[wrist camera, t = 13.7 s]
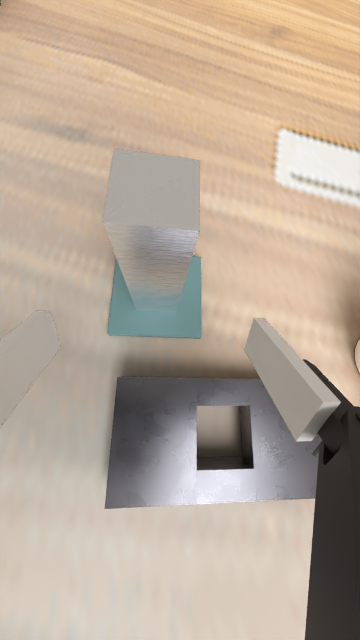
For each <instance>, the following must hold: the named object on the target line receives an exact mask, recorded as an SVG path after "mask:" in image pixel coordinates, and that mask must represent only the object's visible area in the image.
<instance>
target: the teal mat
mask: <svg viewBox="0 0 360 640" xmlns="http://www.w3.org/2000/svg"><path fill="white" fill-rule="evenodd" d="M107 334H109V335H113V336H140V337H167V338H194V339H200V338H201V257H197V256H192V259H191V262H190V266H189V269H188V272H187V276H186V279H185V282H184V286H183V289H182V293H181V296H180V299H179V303H178V306H177V309H176V312H170V311H153V310H136V308H135V306H134V303H133V301H132V298H131V295H130V293H129V290H128V287H127V285H126V282H125V280H124V277H123V274H122V272H121V269H120V266H119V264H118V261H117V259H116V265H115V273H114V282H113V291H112V299H111V308H110V316H109V325H108V333H107Z"/></svg>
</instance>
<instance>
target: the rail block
mask: <svg viewBox="0 0 360 640" xmlns="http://www.w3.org/2000/svg"><path fill="white" fill-rule="evenodd" d="M196 406H240V422H241V441H242V456H240V457H200V458H197V427H196ZM321 442H322V439H321V438H320V436H319V435H318V433H317V434H316V436H315V437H314V438H313V440H312V441H297V442H296V440H295V439H294V437H293V435H292V433H291V432H290V430H289V428H288V426H287V425H286V423H285V421H284V419H283V417H282V416H281V414H280V412H279V410H278V409H277V407H276V405H275V403H274V402H273V400H272V398H271V396H270V394H269V393H268V391H267V389H266V387H265V386H264V384H263V382H262V380H261V379H251V378H190V377H129V376H122V377H118V378H117V388H116V398H115V409H114V419H113V429H112V439H111V450H110V460H109V470H108V480H107V491H106V501H105V509H111V508H131V507H151V506H171V505H191V504H211V503H231V502H251V501H271V500H291V499H311V498H316V485H317V472H318V459H319V452H318V453H317V455H316V456H314V455H312V454H313V452H314V450H315V449H316V448H317V446H318V445H319V444H320V443H321Z"/></svg>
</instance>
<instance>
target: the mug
mask: <svg viewBox="0 0 360 640" xmlns="http://www.w3.org/2000/svg"><path fill="white" fill-rule="evenodd" d="M355 362H356V365H357V368H358V371H359V373H360V339H359V341H358V343H357V345H356V348H355Z"/></svg>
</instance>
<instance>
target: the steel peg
mask: <svg viewBox="0 0 360 640" xmlns="http://www.w3.org/2000/svg"><path fill="white" fill-rule="evenodd" d="M102 222H103V224H104V227H105V230H106V232H107V235H108V237H109V240H110V243H111V245H112V248H113V251H114V253H115V256H116V259H117V261H118V264H119V266H120V269H121V272H122V274H123V277H124V280H125V282H126V285H127V287H128V290H129V293H130V295H131V298H132V301H133V303H134V306H135V308H136V310H153V311H170V312H176V309H177V306H178V303H179V299H180V296H181V293H182V289H183V286H184V282H185V279H186V276H187V272H188V269H189V266H190V262H191V259H192V255H193V252H194V249H195V245H196V242H197V239H198V235H199V232H200V160H195V159H188V158H181V157H174V156H166V155H159V154H152V153H145V152H137V151H130V150H123V149H115V148H114V151H113V157H112V163H111V170H110V176H109V183H108V189H107V195H106V202H105V208H104V215H103V221H102Z"/></svg>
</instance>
